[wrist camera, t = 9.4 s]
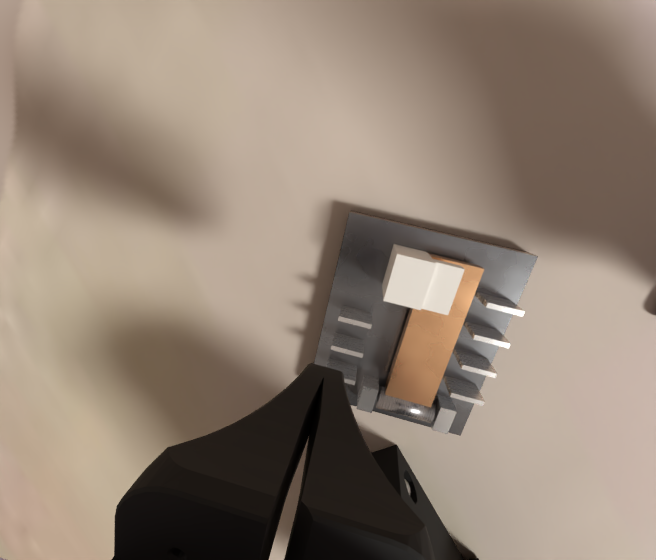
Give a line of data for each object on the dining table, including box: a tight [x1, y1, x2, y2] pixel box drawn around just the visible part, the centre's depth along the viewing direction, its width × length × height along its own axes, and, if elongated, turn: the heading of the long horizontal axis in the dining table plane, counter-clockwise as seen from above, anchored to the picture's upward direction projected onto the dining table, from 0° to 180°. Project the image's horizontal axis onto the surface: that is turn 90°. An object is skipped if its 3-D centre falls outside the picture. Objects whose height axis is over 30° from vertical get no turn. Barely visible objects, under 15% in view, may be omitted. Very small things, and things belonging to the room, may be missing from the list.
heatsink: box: [314, 211, 538, 435], centre depth 20 cm, size 11×13×3 cm
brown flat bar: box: [375, 253, 484, 423], centre depth 19 cm, size 4×11×1 cm, turn 168°
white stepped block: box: [382, 244, 465, 315], centre depth 18 cm, size 4×3×3 cm
